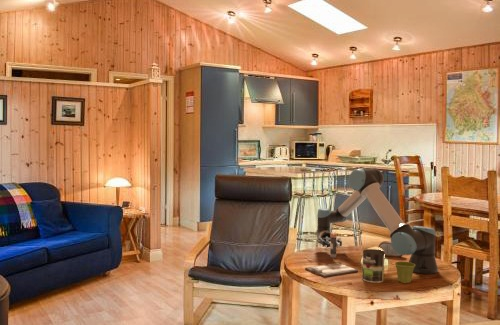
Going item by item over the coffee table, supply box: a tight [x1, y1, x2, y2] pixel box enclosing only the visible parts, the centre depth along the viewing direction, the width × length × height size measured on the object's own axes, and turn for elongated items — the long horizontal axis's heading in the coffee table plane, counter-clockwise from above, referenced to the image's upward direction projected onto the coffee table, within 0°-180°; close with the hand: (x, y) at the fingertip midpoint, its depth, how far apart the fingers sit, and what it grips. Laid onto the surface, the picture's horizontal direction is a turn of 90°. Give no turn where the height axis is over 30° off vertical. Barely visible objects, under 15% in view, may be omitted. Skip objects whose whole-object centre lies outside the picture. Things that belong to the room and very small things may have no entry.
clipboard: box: [304, 262, 359, 278], centre depth 256 cm, size 16×22×2 cm
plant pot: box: [394, 261, 415, 284], centre depth 239 cm, size 9×9×9 cm
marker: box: [329, 232, 338, 259], centre depth 270 cm, size 3×3×13 cm
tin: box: [378, 240, 403, 258], centre depth 290 cm, size 15×3×8 cm, turn 69°
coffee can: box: [361, 248, 385, 284], centre depth 241 cm, size 10×10×14 cm
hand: (335, 246), depth 265 cm, fingers closed on marker, 3 cm apart
